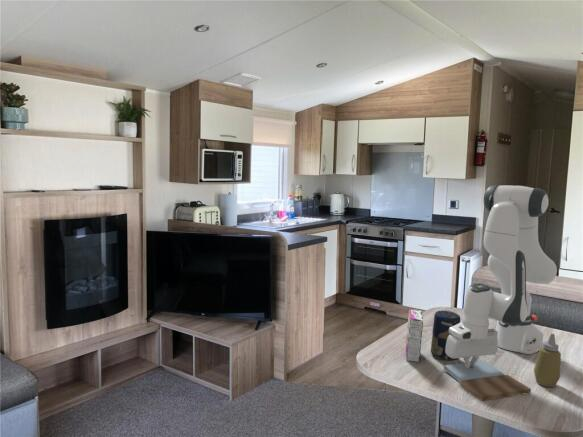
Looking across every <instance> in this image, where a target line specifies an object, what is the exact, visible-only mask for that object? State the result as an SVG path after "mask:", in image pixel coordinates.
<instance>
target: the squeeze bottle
mask: <svg viewBox="0 0 583 437" xmlns="http://www.w3.org/2000/svg"><path fill="white" fill-rule="evenodd" d="M543 342H544V343H543V347H542V348H540V349H539V352H537V353H538V355H537V357H536V361H535V365H534V369H533V373H534V377H535V382H536V383H537V384H538V383H539V385H540V384H541V385H540V386H542V385H543V387H546V386H548V387H547V388H554V387H556V385H557V383H558V382H559V380H560V378H561V360H562V359H561V358H562V357H561V354H562V353H561V352H560V351H559V349H560V348H559V344H557V343H556V336H555V333H550V335H549V336H548V339H547V341H543ZM553 386H554V387H553Z"/></svg>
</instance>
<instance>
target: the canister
mask: <svg viewBox="0 0 583 437" xmlns="http://www.w3.org/2000/svg"><path fill="white" fill-rule="evenodd" d="M461 321H462V319H461V316H460V315H459V314H458V313H457V312H453V311H450V310H437V311H436V312H435V313H434V317H433V324H432V335H431V336H432V337H431V343H430V344H431V346H430V353H431V355H433V357H435V358H437V359H440V360H448V361H449V360H453V358H451V357H449V356H448V355H447V354H446V352H445V348H446V342H447V338H448V336H449V335H450V333H449V328H450V327H452V326H454V325H457V324H459V323H460V322H461Z"/></svg>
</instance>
